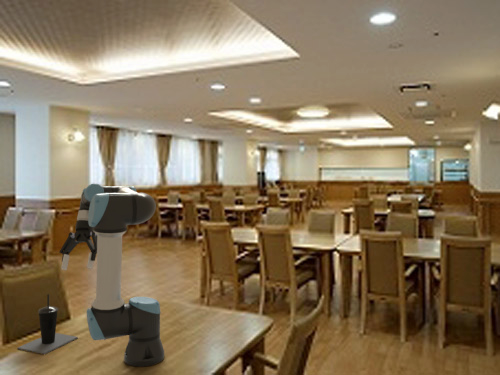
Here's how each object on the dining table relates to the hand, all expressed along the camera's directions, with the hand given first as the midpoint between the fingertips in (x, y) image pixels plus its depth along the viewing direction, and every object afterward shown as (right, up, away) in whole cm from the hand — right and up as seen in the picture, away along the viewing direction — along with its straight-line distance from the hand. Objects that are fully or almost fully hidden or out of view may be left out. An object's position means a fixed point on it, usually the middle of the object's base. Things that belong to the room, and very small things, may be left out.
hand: (76, 269), depth 184 cm
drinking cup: (-10, -30, -5) cm, 32 cm away
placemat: (-10, -30, -5) cm, 32 cm away
